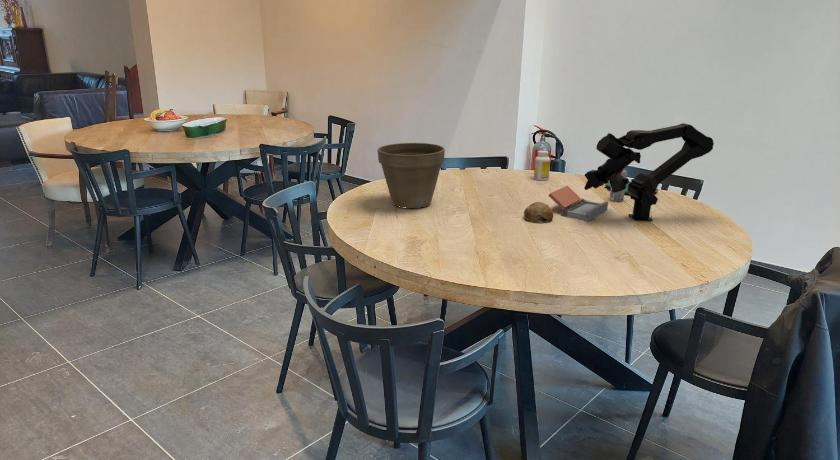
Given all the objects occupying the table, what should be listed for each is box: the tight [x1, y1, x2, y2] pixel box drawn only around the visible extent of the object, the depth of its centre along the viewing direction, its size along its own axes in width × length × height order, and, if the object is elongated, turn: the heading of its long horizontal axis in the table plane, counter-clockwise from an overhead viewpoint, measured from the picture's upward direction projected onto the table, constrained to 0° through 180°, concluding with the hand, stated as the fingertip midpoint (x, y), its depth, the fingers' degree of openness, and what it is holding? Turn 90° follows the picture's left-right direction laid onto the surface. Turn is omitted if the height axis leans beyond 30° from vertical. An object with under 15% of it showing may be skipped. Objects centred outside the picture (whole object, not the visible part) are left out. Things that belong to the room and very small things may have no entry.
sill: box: [561, 198, 587, 218], centre depth 207 cm, size 2×18×2 cm, turn 141°
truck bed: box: [567, 200, 609, 222], centre depth 203 cm, size 8×18×3 cm, turn 142°
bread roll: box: [523, 201, 554, 224], centre depth 196 cm, size 10×10×8 cm
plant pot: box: [377, 142, 446, 209], centre depth 210 cm, size 25×25×22 cm
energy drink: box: [608, 169, 628, 203], centre depth 219 cm, size 5×5×12 cm
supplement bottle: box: [533, 150, 551, 182], centre depth 252 cm, size 7×7×13 cm
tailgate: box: [548, 185, 582, 210], centre depth 208 cm, size 2×15×8 cm
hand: (585, 189), depth 202 cm, fingers closed
